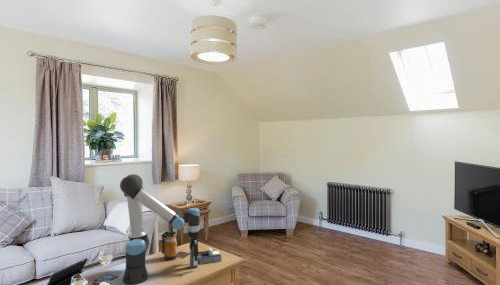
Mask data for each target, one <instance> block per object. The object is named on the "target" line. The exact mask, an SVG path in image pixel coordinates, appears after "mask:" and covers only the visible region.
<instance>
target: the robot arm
mask: <svg viewBox="0 0 500 285" xmlns="http://www.w3.org/2000/svg"><path fill="white" fill-rule="evenodd" d="M143 182H144V181H143V179H142V177H141V176H140V175H138V174H135V173H134V174H129V175H127V176H125V177H124V178H122V179H121V181H120V183H119V188H120V190H121V193H123V195H124V197H125V198H126V201H127V207H128V208H127V209H128V216H129V218H128V219H129V224H130V234H129V235H128V237H129V238H128V239H129V241H128V242H126V245H125V269H124V271H123V272H124V273H123V275H122V282H123V283H124V284H125V285H138V284H141V283H144V282H146V281H147V280H148V278H149V273H148V270H147V266H146V254H147V251H148V249H149V247H150V244H151V243H150V238H149V235H148V231H146V230H145V224H144V214H143V207H142V206H145V208H147V209H148V210H150V211H152V212H153V213H154V214H156V215H157V216H159V217H160V218H161V219H163V221H166V222H167V223H169V224H170V225H171V226H172V228H173V230H176V231H179V230H182V229H183V228H184V225H185V224H187V223H188V230H187V231H188V235H187V236H188V238H190V239H189V250H190V249H193V251H194V255H193V257H194V266H197V267H198V266H199V265H198V264H199V262H198V256H199V254H198V252H199V245H198V244H199V241H198V239H197V238H199V237H200V228H201V225H200V222H201V221H200V220H201V218H200V216H201V215H200V209H199V208H197V207H192V208H189V209H188V211H174V210H172V209H171V208H170V207H169V206H168V205H166V204H165V203H163V202H162V201H160V200H159V199H157V198H156V197H155V196H153V195H152V194H151V193H149V192H148V191H146V190H145V187H144V186H143Z"/></svg>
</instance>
